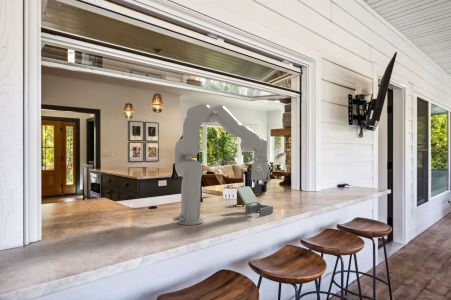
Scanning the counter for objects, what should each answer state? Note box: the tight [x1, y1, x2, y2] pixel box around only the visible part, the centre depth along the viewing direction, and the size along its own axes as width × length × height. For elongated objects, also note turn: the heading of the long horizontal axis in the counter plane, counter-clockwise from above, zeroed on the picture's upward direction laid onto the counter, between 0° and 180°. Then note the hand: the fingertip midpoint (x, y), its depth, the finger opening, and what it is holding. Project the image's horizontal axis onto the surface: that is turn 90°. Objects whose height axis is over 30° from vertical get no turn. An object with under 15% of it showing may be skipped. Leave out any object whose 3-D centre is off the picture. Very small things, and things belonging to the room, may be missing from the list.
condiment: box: [236, 186, 245, 205], centre depth 196 cm, size 7×8×12 cm
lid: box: [236, 185, 259, 205], centre depth 175 cm, size 12×11×1 cm
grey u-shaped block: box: [245, 202, 274, 218], centre depth 170 cm, size 12×11×5 cm
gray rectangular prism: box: [253, 182, 268, 194], centre depth 170 cm, size 8×3×5 cm, turn 140°
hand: (260, 191), depth 170 cm, fingers closed on gray rectangular prism, 3 cm apart
